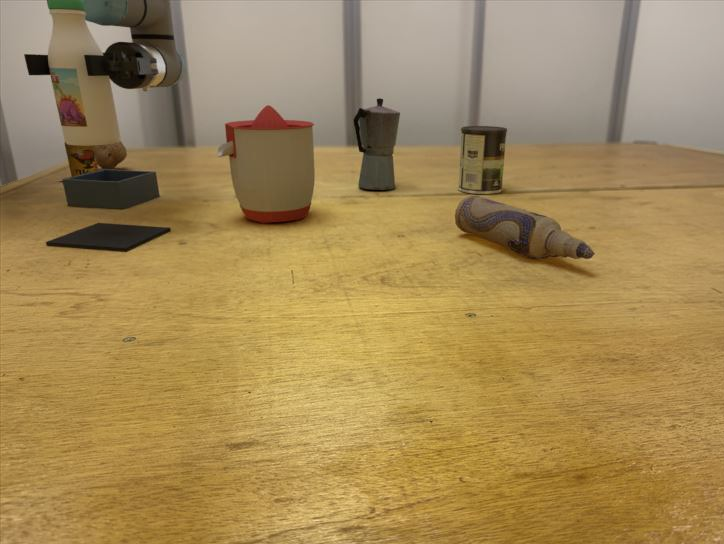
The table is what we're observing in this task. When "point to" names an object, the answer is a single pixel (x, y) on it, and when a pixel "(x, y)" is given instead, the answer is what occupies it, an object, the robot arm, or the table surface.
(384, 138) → the moka pot
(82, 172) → the condiment
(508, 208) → the decorative bottle
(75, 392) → the table surface
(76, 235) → the mat
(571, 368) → the table surface
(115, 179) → the bin
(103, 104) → the milk bottle
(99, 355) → the table surface
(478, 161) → the coffee can
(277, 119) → the citrus juicer
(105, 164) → the brown lumpy rounded lump
